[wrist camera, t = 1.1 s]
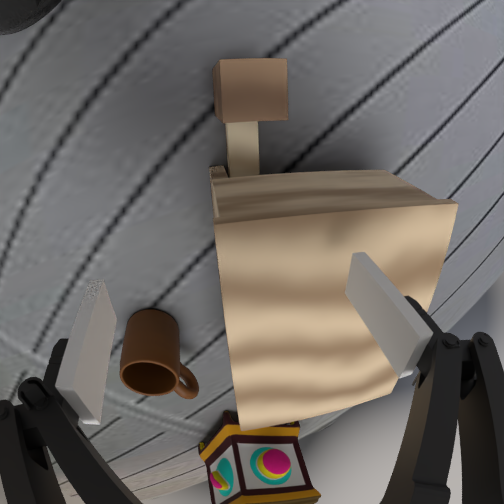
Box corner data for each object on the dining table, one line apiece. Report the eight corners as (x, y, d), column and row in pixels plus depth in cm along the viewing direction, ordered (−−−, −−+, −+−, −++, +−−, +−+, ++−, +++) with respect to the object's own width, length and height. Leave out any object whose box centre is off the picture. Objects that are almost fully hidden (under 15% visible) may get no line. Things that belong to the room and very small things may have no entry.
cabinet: (204, 162, 31) (214, 224, 18) (370, 154, 34) (463, 203, 20) (223, 335, 44) (240, 431, 30) (348, 314, 47) (395, 391, 33)
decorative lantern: (263, 449, 68) (290, 548, 42) (190, 445, 61) (205, 558, 35) (305, 411, 60) (347, 530, 34) (220, 404, 53) (247, 552, 27)
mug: (212, 341, 44) (218, 392, 36) (178, 365, 46) (180, 414, 38) (149, 297, 38) (142, 350, 30) (116, 327, 40) (106, 378, 32)
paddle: (212, 69, 27) (219, 59, 19) (261, 67, 27) (286, 58, 20) (229, 291, 40) (239, 340, 32) (266, 286, 41) (284, 333, 33)
